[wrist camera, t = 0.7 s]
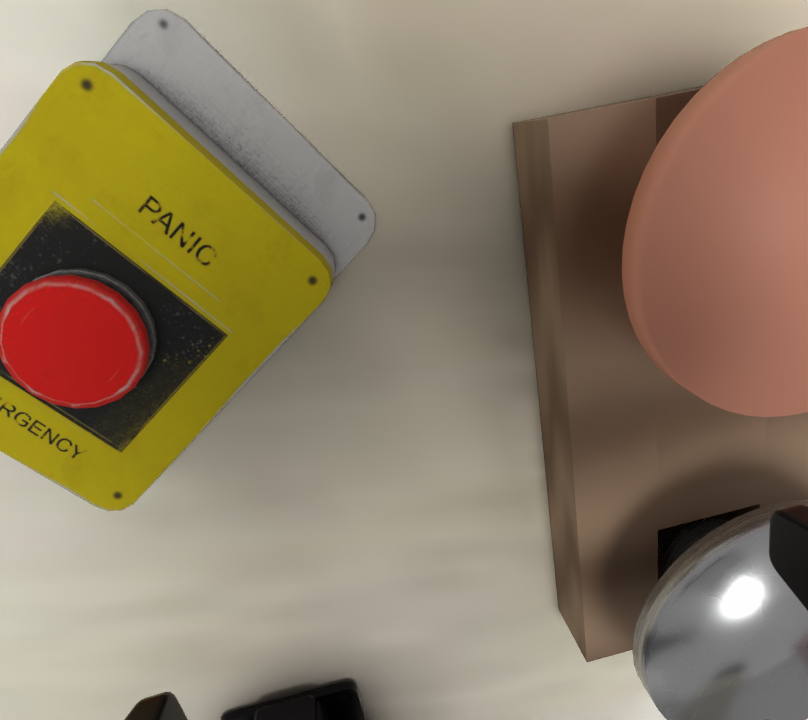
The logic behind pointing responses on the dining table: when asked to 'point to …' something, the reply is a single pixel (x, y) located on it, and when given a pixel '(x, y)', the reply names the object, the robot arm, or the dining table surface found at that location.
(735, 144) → the rust plunger
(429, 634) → the dining table surface
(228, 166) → the emergency button
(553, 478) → the housing
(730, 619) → the silver round dome
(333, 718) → the robot arm
